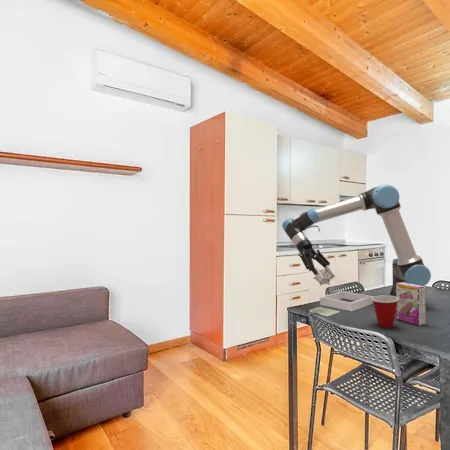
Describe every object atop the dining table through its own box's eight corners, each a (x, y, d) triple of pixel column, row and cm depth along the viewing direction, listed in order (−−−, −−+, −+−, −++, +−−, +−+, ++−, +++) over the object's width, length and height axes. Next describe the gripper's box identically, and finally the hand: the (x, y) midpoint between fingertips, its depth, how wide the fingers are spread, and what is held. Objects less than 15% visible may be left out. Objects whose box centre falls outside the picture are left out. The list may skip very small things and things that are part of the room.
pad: (339, 312, 167) (339, 311, 167) (326, 316, 160) (326, 315, 160) (318, 307, 176) (318, 306, 176) (305, 311, 169) (305, 310, 169)
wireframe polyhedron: (327, 293, 168) (334, 279, 161) (310, 286, 169) (317, 272, 163) (329, 281, 174) (336, 267, 168) (312, 274, 176) (319, 260, 170)
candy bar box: (395, 319, 155) (394, 283, 154) (402, 317, 157) (402, 281, 156) (418, 326, 145) (418, 287, 144) (426, 324, 147) (426, 286, 146)
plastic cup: (366, 322, 151) (366, 295, 151) (390, 321, 152) (389, 294, 152) (379, 330, 140) (379, 300, 140) (404, 329, 141) (404, 300, 141)
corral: (373, 303, 183) (373, 296, 183) (351, 311, 169) (351, 303, 168) (342, 298, 196) (342, 291, 196) (320, 304, 182) (320, 297, 182)
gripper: (311, 246, 187) (336, 280, 174) (284, 249, 175) (308, 285, 162) (319, 237, 182) (345, 271, 169) (291, 239, 170) (317, 276, 157)
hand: (327, 278), depth 166 cm, fingers closed on wireframe polyhedron, 8 cm apart
